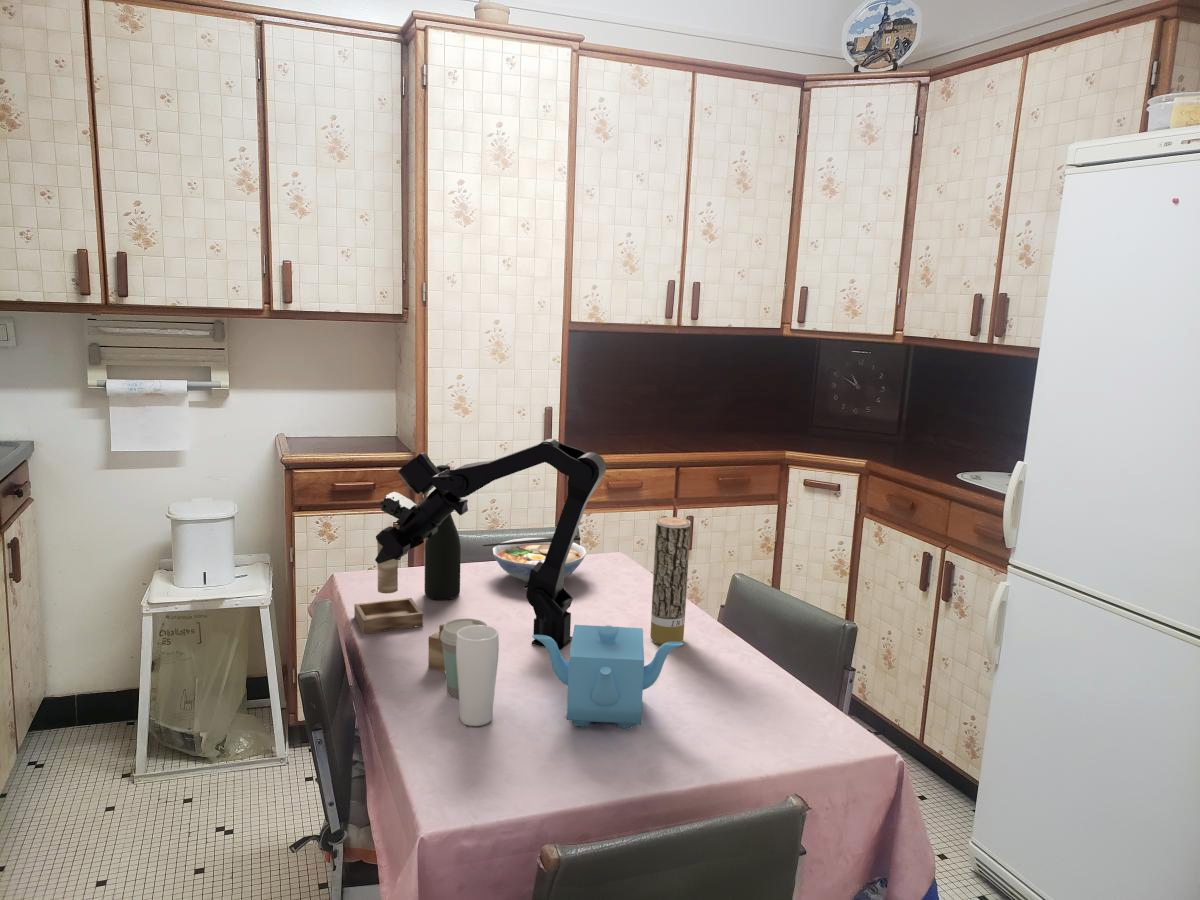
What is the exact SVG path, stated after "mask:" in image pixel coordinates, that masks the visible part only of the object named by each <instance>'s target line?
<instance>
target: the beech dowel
mask: <svg viewBox="0 0 1200 900" xmlns="http://www.w3.org/2000/svg"><path fill="white" fill-rule="evenodd" d="M376 543H377V545H376V546H377V555H378V554H379V552H380V550H381V549H382V547H383V546H382V545H381V544H380V543H379V542H378V541H377V540H376ZM398 560H399V559H398ZM398 560H395V559H392V560H388V561H385V562H382V563H379V564H378V563H377V592H378V593H379V594H392V593H393V594H394V593H396V592H398V589H399V588H398V587H399V586H398V585H399V584H398V583H399V582H398V578H399V577H398V575H399V571H398V569H399V568H398V566H399V565H398V564H399V563H398V562H399V561H398Z"/></svg>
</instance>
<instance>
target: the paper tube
mask: <svg viewBox="0 0 1200 900" xmlns="http://www.w3.org/2000/svg"><path fill="white" fill-rule="evenodd" d="M654 537H655V538H654V542H655V543H654V558H653V561H654V562H653V575H652V576H653V577H652V578H653V579H652V595H651V599H652V600H651V611H650V612H651V615H650V617H651V618H650V637H649V638H650V639H651V641H652V642H654V643H655V644H657V645H660V646H661V645H663V644H664V643H667V642H682V643H683V641H684V637H685V636H684V635H685V623H686V622H685V621H686V620H685V619H686V607H687V606H686V605H687V589H688V588H687V587H688V575H689V574H688V572H689V571H688V570H689V556H690V539H691V520H689V519H686V518H684V517H678V516H677V517H674V516H665V517H664V516H663V517H659V518H657V519H656V522H655V536H654Z"/></svg>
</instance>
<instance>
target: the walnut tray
mask: <svg viewBox="0 0 1200 900" xmlns="http://www.w3.org/2000/svg"><path fill="white" fill-rule="evenodd" d="M353 607H354V619H355V621H356V622H357V624H358V625H359V628H360V629H361V632H362V633H363V634H365V635H366V634H374V633H382V632H389V631H396V629H398V630H404V629H403V628H406V629H411V628H410V627H414V628H416V627H415V626H422V627H424V613H423V611H422V610H421V609H420V607H419V606H418V604H417V603H416V602H415V600H414V599H413V598H412V597H406V598H400V599H397V598H396V599H388V600H381V601H372V602H371V601H370V602H363V603H361V602H360V603H354V604H353Z"/></svg>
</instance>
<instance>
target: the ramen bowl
mask: <svg viewBox="0 0 1200 900" xmlns="http://www.w3.org/2000/svg"><path fill="white" fill-rule="evenodd" d="M552 538H553V537H523V538H515V539H510V540H507V541H506V540H505V541H502V542H497V543H489V544H482V546H483V547H493V546H494V547H493V548H492V553H493V555H494V558H495V561H496V562H497V563H498V565H499V567H501V569H503V572H506V573H507V574H509V575H510V576H512V577H513V578H516V579H519V580H522V581H525V582H526V583H528V581H529V576H530V571H531V569H532V568H533V567H534V566H535V565H536V564H537V563H538V562H539V561H540V562H542V563H544V561H545V558H546V555H547V552H548V550H549V547H550V544H551V541H552ZM573 541H581V537H580V536H579V535H577V534H576V535H575V537H574V540H573ZM587 553H588V552H587V550H586V548H585V547H584V546H581V545H580V544H578V543H576V542H573V543H572V546H571V548H570V551H569V554H568V557H567V560H566V562H565V577H564V578H566V577H568V576H570V575H571V574H573V573H574V572H575V571H576V570H577V568H578V567H579V566H580V565H581V563H582V562H583V560H584V559H585V557H586V555H587Z"/></svg>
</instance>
